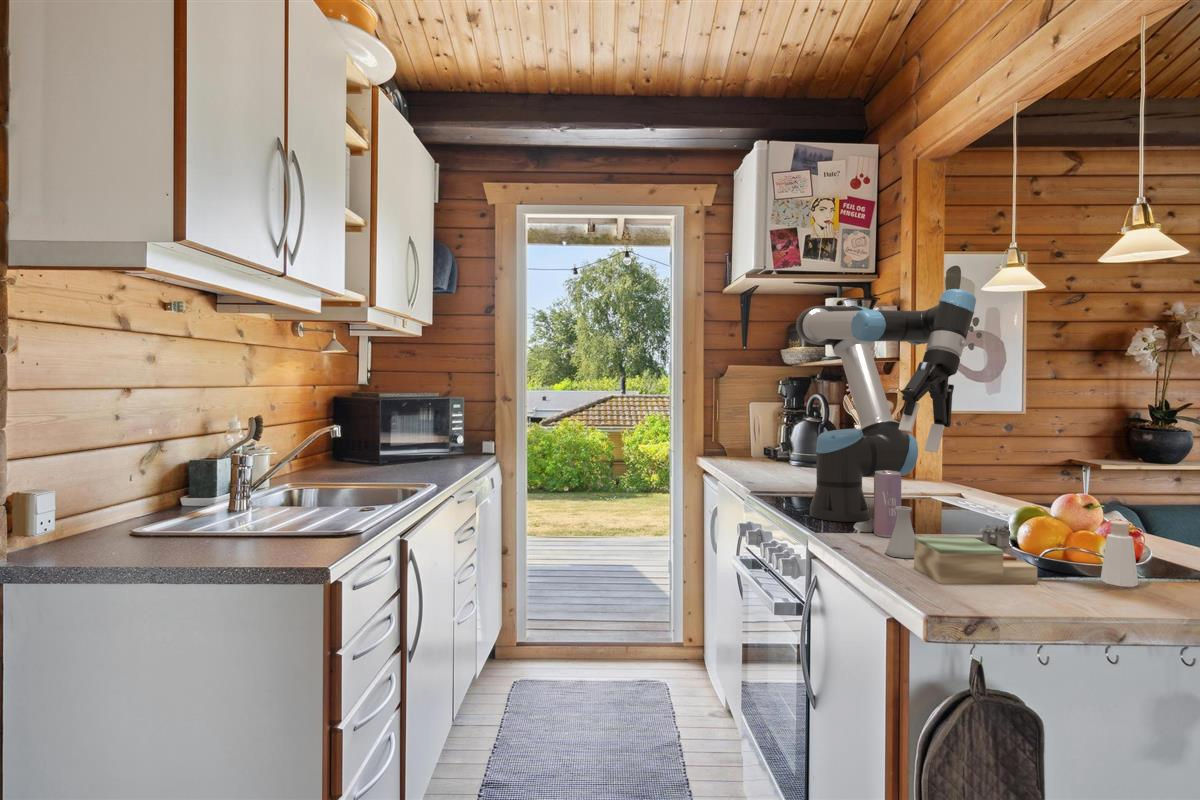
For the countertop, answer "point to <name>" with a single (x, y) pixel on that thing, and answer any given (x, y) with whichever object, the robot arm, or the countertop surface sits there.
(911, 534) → the flask
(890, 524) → the beverage can
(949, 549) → the stand
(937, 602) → the countertop surface
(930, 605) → the countertop surface
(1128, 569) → the salt shaker
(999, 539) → the egg carton
